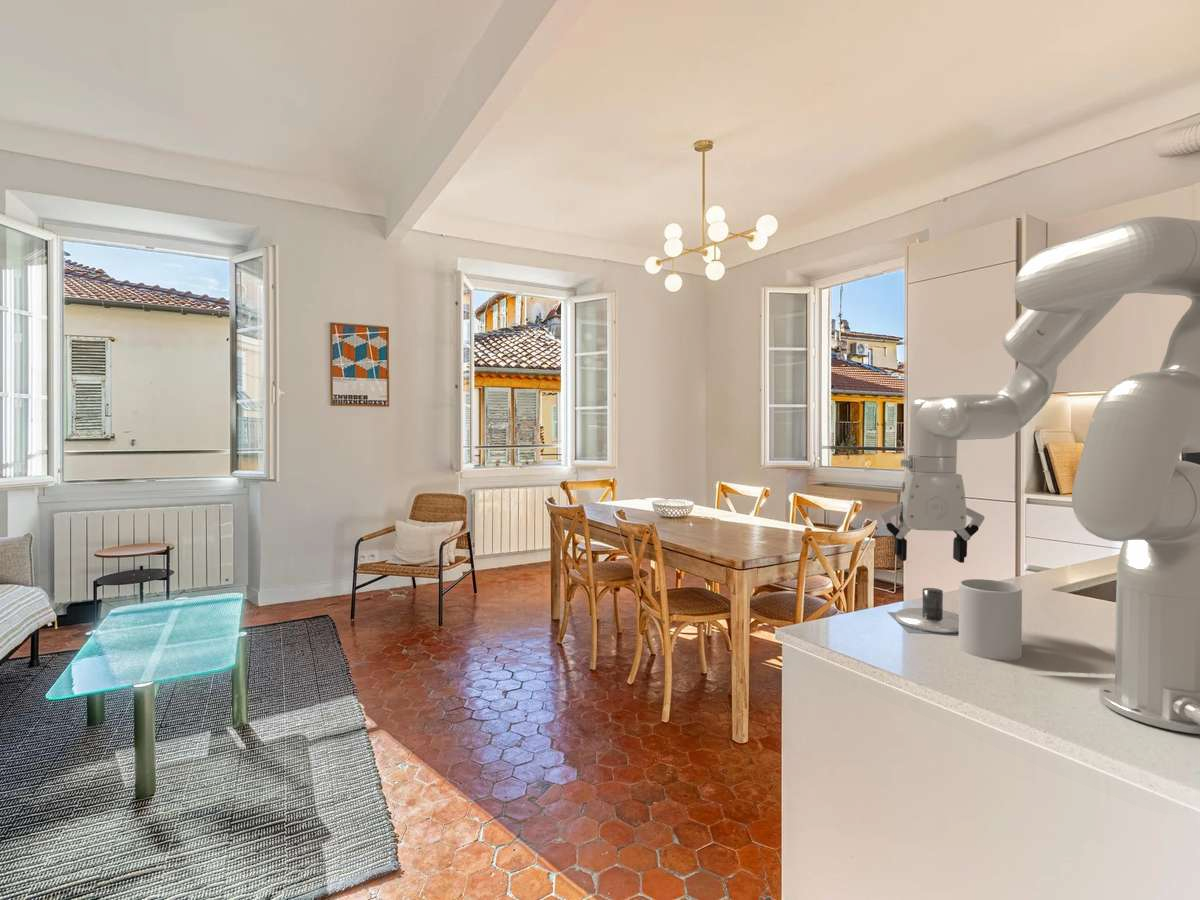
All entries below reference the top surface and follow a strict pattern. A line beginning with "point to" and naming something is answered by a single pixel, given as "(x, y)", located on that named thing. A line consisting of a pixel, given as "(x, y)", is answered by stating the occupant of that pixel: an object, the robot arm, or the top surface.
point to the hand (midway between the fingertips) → (929, 560)
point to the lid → (930, 615)
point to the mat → (909, 630)
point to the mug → (990, 619)
